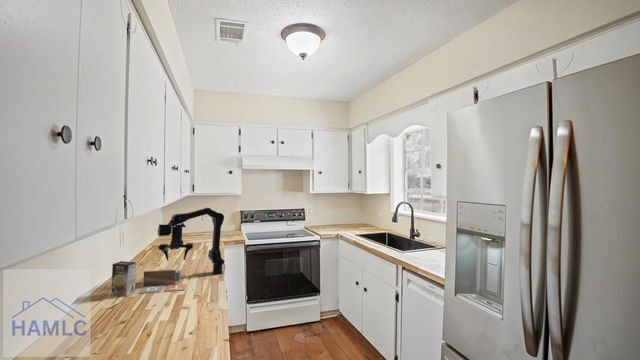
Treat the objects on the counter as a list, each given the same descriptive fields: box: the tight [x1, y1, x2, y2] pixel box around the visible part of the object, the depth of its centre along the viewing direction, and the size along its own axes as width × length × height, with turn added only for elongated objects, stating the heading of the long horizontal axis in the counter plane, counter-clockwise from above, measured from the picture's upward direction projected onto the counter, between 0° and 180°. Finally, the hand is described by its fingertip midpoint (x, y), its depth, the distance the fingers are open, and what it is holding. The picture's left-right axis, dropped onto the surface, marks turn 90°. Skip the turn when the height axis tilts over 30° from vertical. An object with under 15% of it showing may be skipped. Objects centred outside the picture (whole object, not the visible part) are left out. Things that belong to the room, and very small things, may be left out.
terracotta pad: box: [164, 283, 188, 293], centre depth 169 cm, size 10×10×1 cm
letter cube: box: [175, 269, 182, 282], centre depth 185 cm, size 5×5×5 cm
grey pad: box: [139, 285, 165, 295], centre depth 166 cm, size 10×10×1 cm
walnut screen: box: [142, 269, 177, 288], centre depth 174 cm, size 2×16×8 cm, turn 107°
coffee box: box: [110, 260, 137, 297], centre depth 159 cm, size 9×6×16 cm
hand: (176, 260), depth 185 cm, fingers open, 9 cm apart
